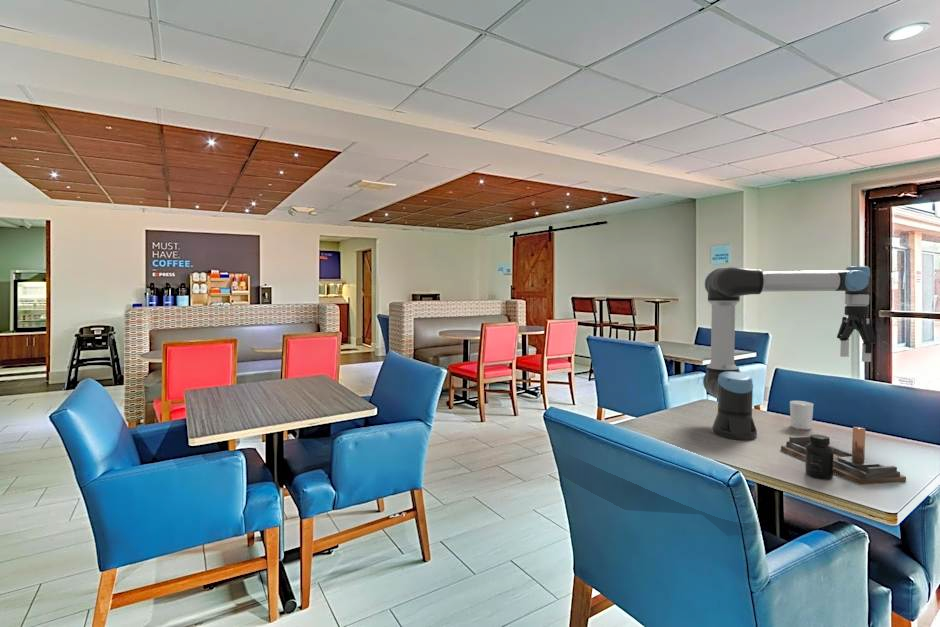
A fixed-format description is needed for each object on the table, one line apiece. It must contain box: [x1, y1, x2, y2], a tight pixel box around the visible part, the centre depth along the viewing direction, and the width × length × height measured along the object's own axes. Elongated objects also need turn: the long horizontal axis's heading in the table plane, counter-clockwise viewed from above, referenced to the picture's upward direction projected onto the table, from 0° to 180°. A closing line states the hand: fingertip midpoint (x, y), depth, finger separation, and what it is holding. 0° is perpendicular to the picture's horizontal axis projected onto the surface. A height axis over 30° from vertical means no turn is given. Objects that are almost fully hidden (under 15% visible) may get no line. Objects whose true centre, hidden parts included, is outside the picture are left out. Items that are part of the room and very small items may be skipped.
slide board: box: [780, 435, 907, 485], centre depth 154 cm, size 30×15×4 cm, turn 6°
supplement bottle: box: [804, 434, 834, 480], centre depth 145 cm, size 7×7×12 cm
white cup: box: [789, 400, 814, 430], centre depth 195 cm, size 8×8×10 cm
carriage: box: [838, 426, 880, 472], centre depth 147 cm, size 7×7×12 cm
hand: (855, 359), depth 191 cm, fingers open, 13 cm apart
